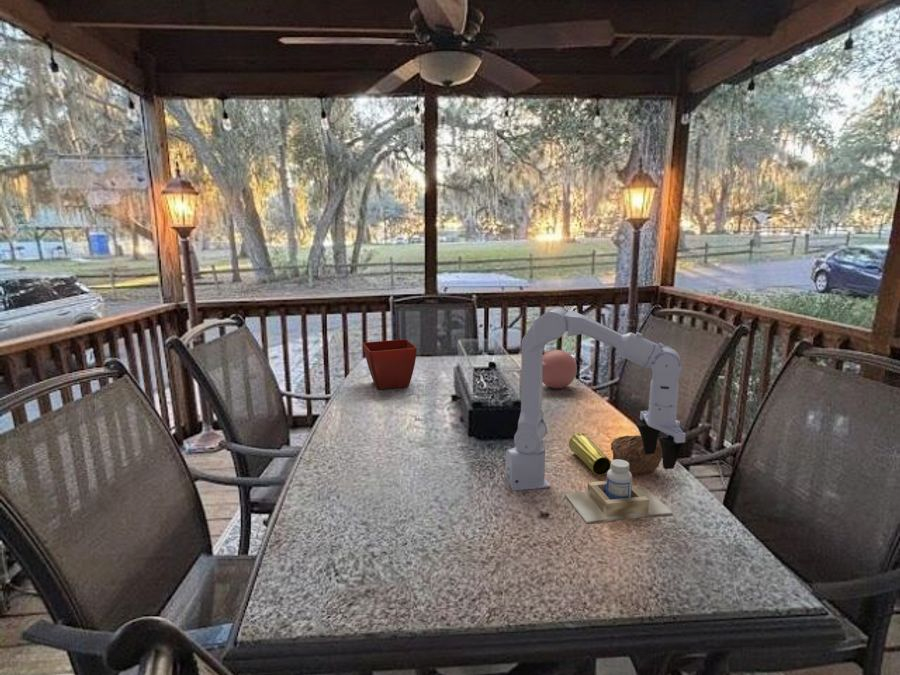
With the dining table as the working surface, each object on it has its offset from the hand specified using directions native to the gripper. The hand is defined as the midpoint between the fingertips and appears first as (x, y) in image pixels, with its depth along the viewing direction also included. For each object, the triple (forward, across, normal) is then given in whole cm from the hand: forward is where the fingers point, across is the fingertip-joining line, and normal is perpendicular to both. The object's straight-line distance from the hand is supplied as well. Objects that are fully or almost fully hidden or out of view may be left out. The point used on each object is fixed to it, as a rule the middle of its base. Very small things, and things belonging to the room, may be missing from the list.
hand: (658, 460), depth 114 cm
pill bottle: (+10, +1, +9) cm, 13 cm away
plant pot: (+11, +107, +55) cm, 121 cm away
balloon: (+11, +89, -8) cm, 90 cm away
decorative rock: (+11, +16, -4) cm, 20 cm away
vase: (+7, +29, +6) cm, 31 cm away
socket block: (+10, +1, +9) cm, 14 cm away
